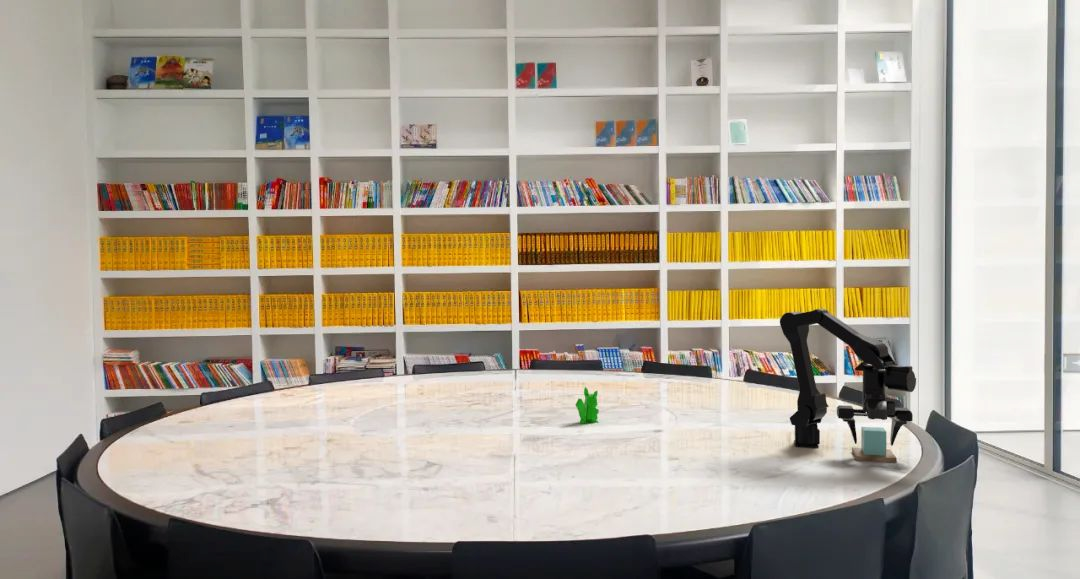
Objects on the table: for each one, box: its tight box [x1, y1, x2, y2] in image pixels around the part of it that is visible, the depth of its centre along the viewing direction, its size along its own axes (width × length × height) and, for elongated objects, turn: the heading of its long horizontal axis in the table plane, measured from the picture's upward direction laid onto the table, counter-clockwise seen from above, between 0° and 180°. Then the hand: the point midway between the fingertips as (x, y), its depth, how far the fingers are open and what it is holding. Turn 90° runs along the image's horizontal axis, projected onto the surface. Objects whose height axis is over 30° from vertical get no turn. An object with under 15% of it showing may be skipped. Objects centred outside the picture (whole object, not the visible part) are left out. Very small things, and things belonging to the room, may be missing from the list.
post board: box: [851, 447, 898, 463], centre depth 213 cm, size 10×10×6 cm
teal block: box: [860, 426, 887, 456], centre depth 213 cm, size 6×6×6 cm
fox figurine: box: [575, 386, 600, 425], centre depth 264 cm, size 6×10×12 cm, turn 134°
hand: (873, 444), depth 213 cm, fingers open, 9 cm apart
